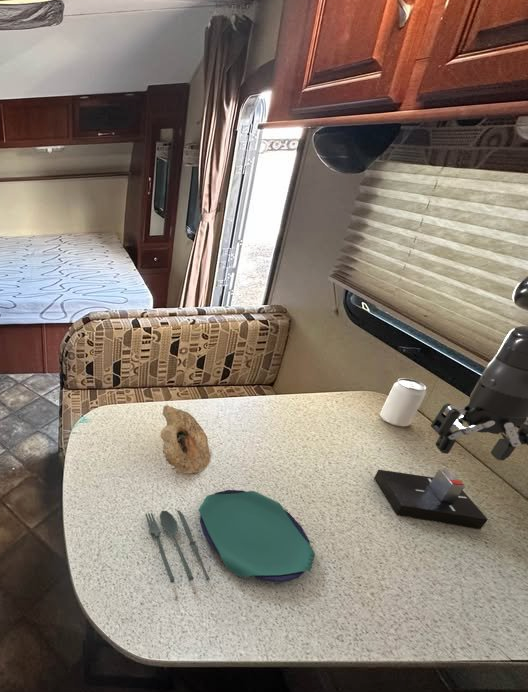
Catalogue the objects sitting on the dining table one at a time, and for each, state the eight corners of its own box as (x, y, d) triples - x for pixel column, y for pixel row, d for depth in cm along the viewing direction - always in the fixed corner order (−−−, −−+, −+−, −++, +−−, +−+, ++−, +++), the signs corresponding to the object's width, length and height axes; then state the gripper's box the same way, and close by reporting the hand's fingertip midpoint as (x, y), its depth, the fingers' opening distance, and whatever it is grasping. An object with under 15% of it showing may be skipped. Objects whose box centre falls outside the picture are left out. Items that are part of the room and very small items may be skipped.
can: (407, 416, 104) (425, 381, 98) (411, 430, 99) (431, 393, 94) (378, 410, 107) (394, 375, 102) (380, 422, 102) (397, 386, 97)
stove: (448, 489, 82) (454, 479, 81) (480, 529, 74) (488, 519, 72) (373, 478, 86) (378, 468, 84) (396, 515, 77) (402, 504, 76)
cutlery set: (335, 582, 66) (339, 575, 65) (170, 597, 65) (171, 589, 64) (269, 492, 84) (272, 485, 83) (139, 502, 83) (140, 495, 82)
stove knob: (428, 485, 80) (439, 467, 78) (440, 486, 79) (451, 469, 77) (441, 501, 76) (453, 483, 74) (453, 503, 76) (465, 485, 73)
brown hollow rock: (206, 487, 93) (223, 476, 87) (152, 478, 92) (165, 466, 86) (195, 424, 105) (208, 410, 99) (146, 415, 104) (157, 401, 98)
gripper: (546, 377, 66) (500, 446, 74) (447, 370, 70) (413, 436, 77) (587, 402, 60) (532, 474, 67) (476, 392, 64) (435, 462, 71)
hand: (468, 453), depth 72 cm, fingers open, 8 cm apart
